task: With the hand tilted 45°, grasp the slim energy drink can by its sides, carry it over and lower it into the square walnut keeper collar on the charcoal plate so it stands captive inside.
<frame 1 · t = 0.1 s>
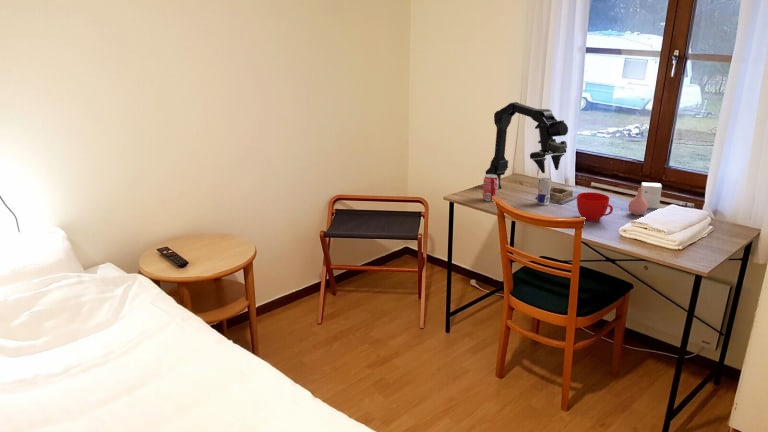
hand: (550, 171, 256), 15 cm above the table, tool pointing down, fingers open, 9 cm apart
energy drink: (543, 204, 261), on the table
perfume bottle: (636, 215, 245), on the table
ceramic cup: (594, 220, 239), on the table
small box: (648, 206, 255), on the table
keeper collar: (556, 198, 268), on the table
soda can: (490, 200, 268), on the table
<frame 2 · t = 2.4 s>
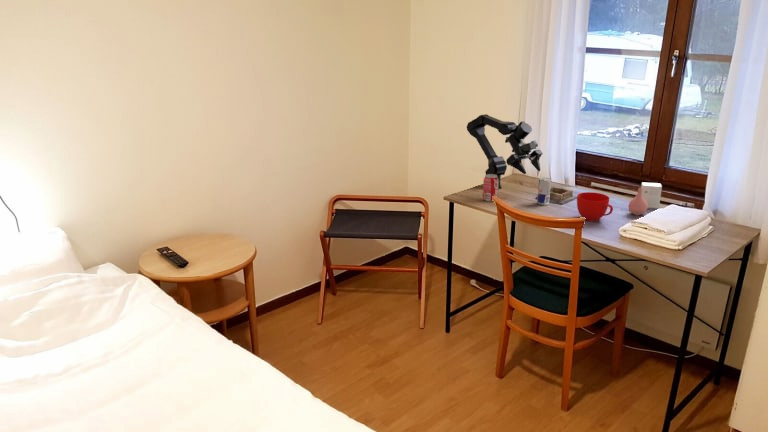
hand: (532, 172, 263), 13 cm above the table, tool tilted 45°, fingers open, 9 cm apart
nothing on the table moved.
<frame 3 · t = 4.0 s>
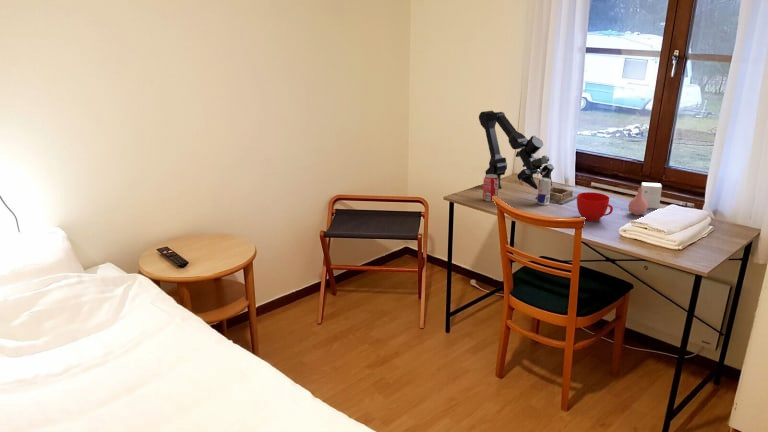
hand: (544, 187, 258), 8 cm above the table, tool tilted 45°, fingers open, 9 cm apart
nothing on the table moved.
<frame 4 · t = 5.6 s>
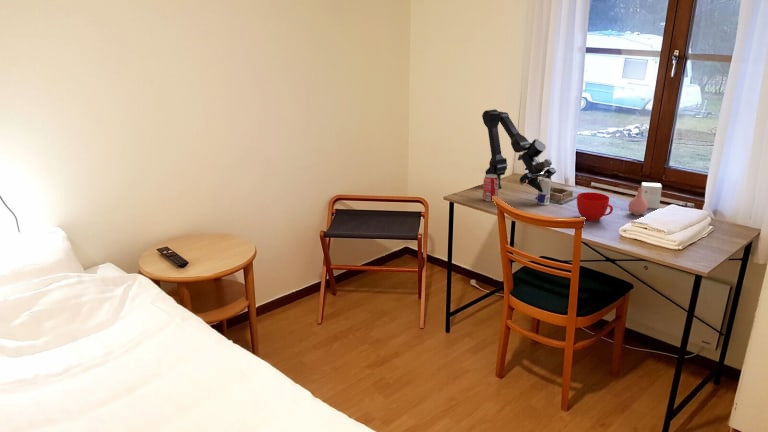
hand: (546, 191, 257), 7 cm above the table, tool tilted 45°, fingers closed on energy drink, 5 cm apart
energy drink: (543, 204, 261), on the table, touching gripper
everything else where it was.
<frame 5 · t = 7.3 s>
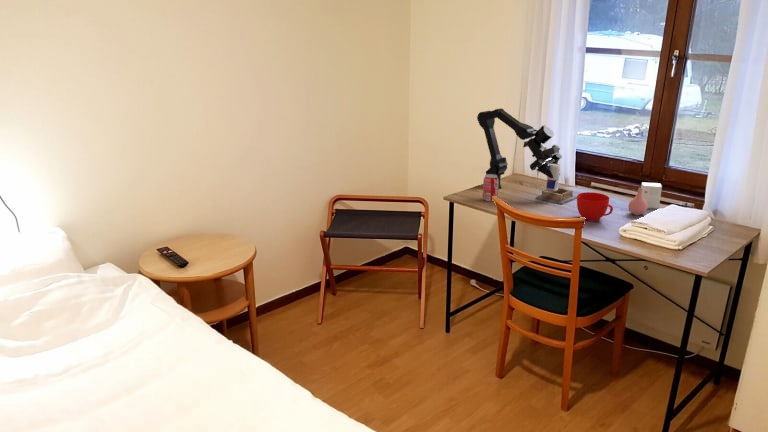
hand: (555, 176, 259), 12 cm above the table, tool tilted 45°, fingers closed on energy drink, 5 cm apart
energy drink: (551, 190, 262), point 5 cm above the table, touching gripper
everything else where it was.
when the fingers open (9 cm above the table, at t = 9.0 s): energy drink drops 1 cm, resting on keeper collar.
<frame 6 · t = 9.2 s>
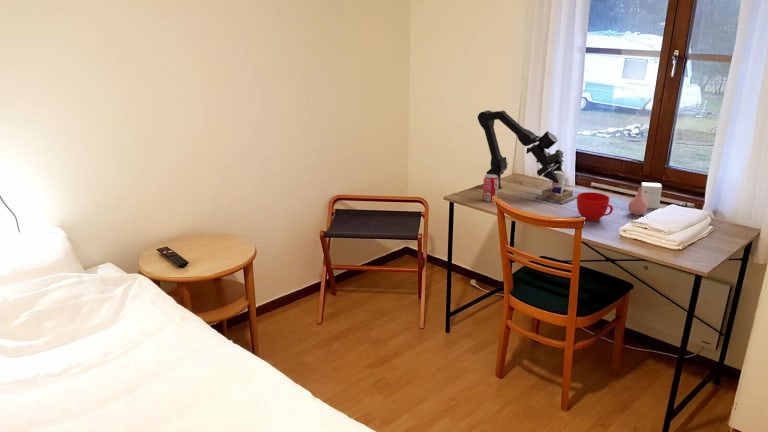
hand: (561, 181, 264), 9 cm above the table, tool tilted 45°, fingers open, 7 cm apart
energy drink: (556, 196, 268), point 1 cm above the table, touching keeper collar
everything else where it was.
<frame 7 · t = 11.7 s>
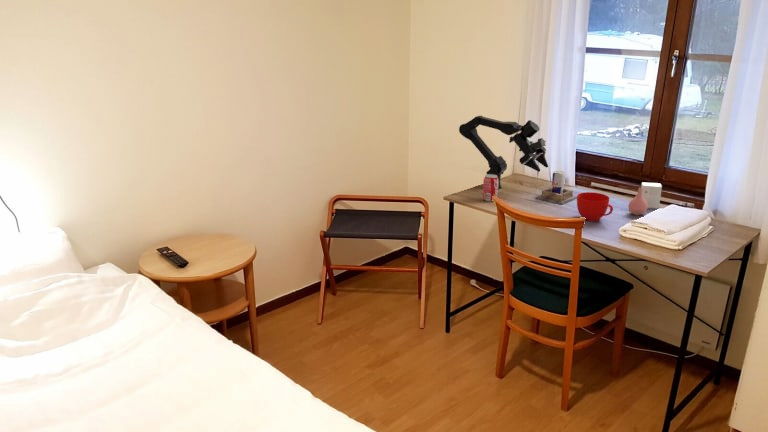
hand: (543, 169, 268), 13 cm above the table, tool tilted 45°, fingers open, 9 cm apart
nothing on the table moved.
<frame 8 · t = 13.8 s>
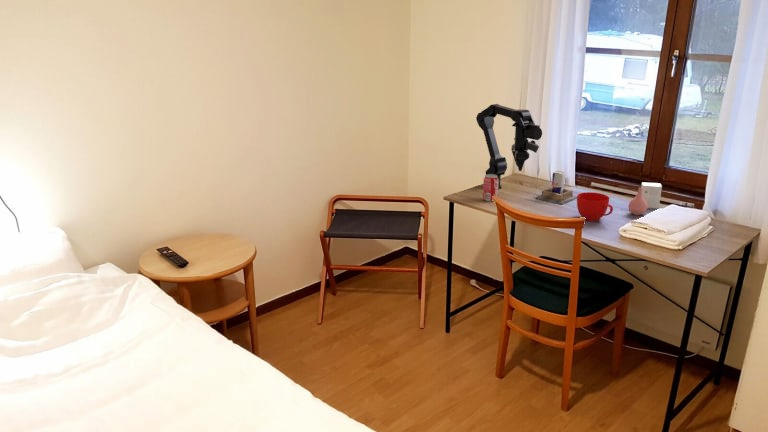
hand: (518, 168, 271), 13 cm above the table, tool pointing down, fingers open, 9 cm apart
nothing on the table moved.
at the end: energy drink 0.2 cm off-centre on the keeper collar, point 0.6 cm above the keeper collar's base; energy drink tilted 0°; the gripper is holding nothing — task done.
